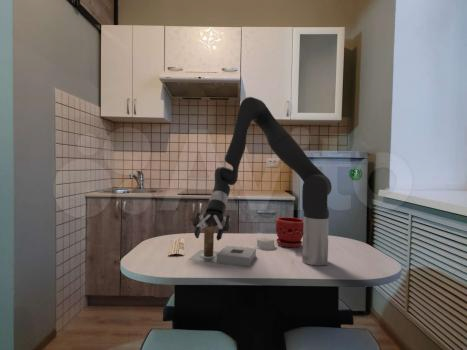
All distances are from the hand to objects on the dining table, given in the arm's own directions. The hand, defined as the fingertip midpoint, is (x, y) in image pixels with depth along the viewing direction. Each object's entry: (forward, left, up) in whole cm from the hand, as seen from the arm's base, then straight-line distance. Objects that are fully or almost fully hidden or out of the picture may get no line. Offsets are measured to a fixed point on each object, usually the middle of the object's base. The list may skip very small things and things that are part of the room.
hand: (207, 238), depth 111 cm
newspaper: (+17, -11, -9) cm, 22 cm away
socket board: (-6, -1, -8) cm, 10 cm away
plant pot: (-28, -32, -8) cm, 44 cm away
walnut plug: (0, -1, -7) cm, 7 cm away
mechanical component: (-19, -22, -9) cm, 30 cm away
